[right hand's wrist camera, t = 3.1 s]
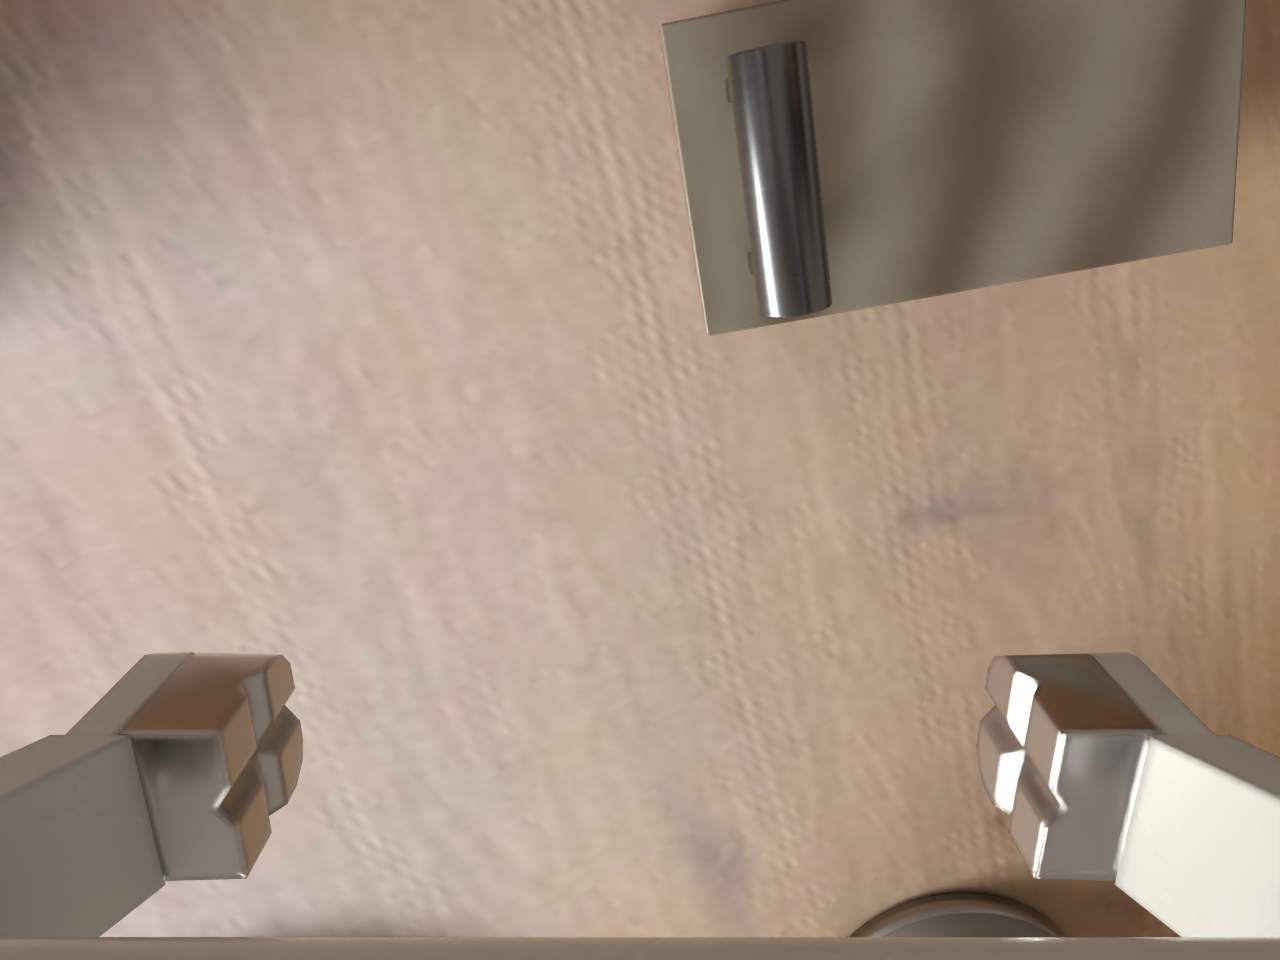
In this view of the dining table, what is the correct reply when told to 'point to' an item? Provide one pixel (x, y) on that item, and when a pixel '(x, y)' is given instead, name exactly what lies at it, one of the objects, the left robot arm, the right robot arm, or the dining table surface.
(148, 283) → the dining table surface
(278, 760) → the right robot arm
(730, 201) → the lid
